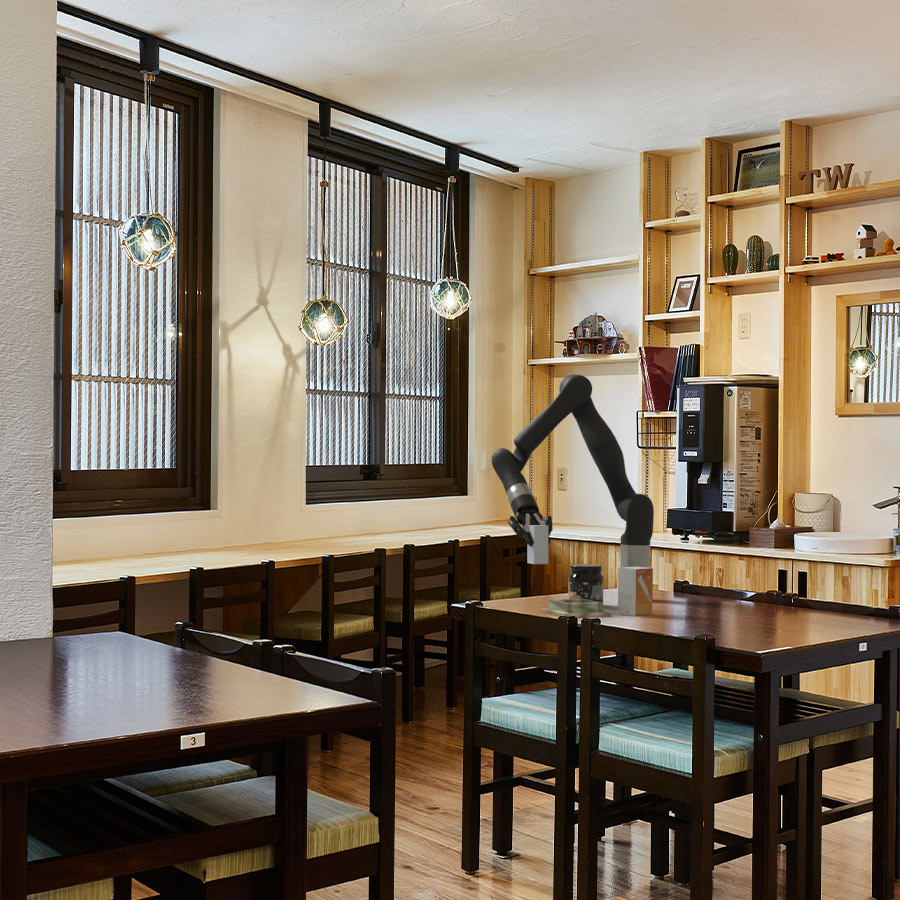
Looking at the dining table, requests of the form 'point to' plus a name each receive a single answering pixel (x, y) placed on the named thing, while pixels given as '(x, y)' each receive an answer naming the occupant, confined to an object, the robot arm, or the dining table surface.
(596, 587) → the supplement container
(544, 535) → the block
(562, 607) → the cradle jig
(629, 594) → the small box
